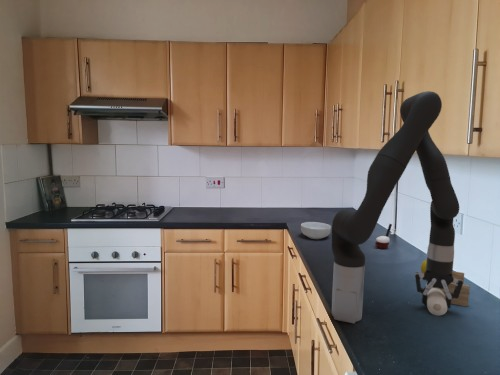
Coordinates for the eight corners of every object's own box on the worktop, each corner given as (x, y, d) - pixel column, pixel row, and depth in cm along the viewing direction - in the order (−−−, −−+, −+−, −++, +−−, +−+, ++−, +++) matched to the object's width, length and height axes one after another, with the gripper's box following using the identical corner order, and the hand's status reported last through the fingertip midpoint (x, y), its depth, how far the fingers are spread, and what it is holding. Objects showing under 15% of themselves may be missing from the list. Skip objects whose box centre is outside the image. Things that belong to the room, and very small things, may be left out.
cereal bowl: (322, 243, 189) (322, 230, 188) (294, 238, 199) (295, 225, 198) (335, 236, 203) (336, 224, 202) (309, 231, 213) (309, 220, 212)
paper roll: (437, 319, 113) (451, 308, 111) (423, 306, 114) (437, 295, 112) (435, 307, 121) (448, 297, 119) (422, 294, 122) (435, 284, 120)
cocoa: (376, 250, 180) (377, 227, 177) (371, 246, 186) (372, 224, 184) (394, 249, 180) (395, 226, 178) (389, 245, 186) (390, 223, 184)
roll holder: (467, 306, 119) (469, 286, 118) (434, 300, 123) (435, 281, 122) (462, 291, 131) (463, 272, 130) (431, 286, 135) (433, 268, 134)
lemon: (437, 281, 140) (439, 261, 139) (422, 280, 141) (423, 260, 140) (432, 276, 146) (434, 257, 144) (418, 275, 146) (419, 256, 145)
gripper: (415, 257, 114) (411, 307, 116) (467, 264, 108) (462, 316, 111) (415, 250, 121) (411, 298, 123) (464, 256, 115) (459, 306, 118)
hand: (435, 306), depth 117 cm, fingers closed on paper roll, 5 cm apart
